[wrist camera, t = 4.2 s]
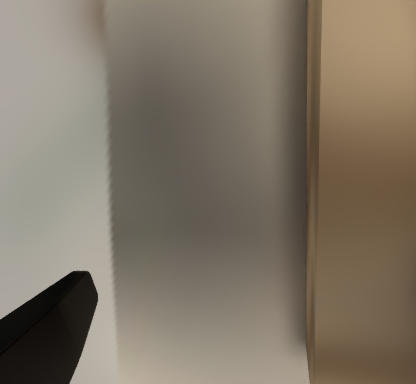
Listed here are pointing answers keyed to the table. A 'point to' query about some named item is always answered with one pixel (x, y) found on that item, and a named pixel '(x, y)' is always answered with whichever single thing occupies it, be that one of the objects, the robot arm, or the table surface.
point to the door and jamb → (361, 192)
